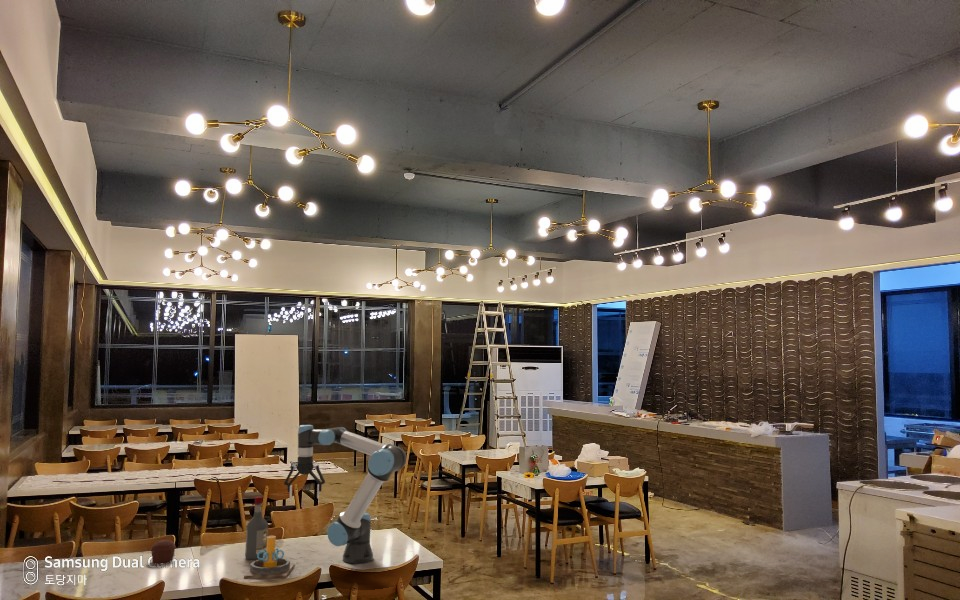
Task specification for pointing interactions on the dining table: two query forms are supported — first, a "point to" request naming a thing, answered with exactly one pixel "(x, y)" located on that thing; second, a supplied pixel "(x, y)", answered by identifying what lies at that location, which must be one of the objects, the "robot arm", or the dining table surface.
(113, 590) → the dining table surface
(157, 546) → the muffin
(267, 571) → the holder
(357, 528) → the robot arm
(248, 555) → the liquor
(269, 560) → the orange post with loops
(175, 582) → the dining table surface
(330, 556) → the dining table surface
